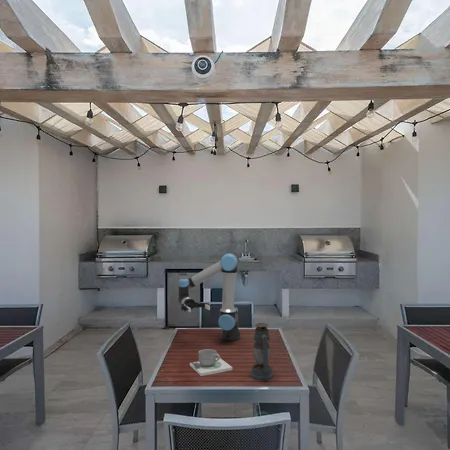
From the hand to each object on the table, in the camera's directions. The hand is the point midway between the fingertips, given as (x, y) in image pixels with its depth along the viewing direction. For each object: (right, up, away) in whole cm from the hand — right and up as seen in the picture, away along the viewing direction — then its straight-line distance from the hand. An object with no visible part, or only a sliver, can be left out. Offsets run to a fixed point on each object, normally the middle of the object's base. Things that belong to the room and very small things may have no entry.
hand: (199, 309), depth 252 cm
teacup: (+7, -28, -24) cm, 38 cm away
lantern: (+38, -30, -35) cm, 60 cm away
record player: (+8, -30, -23) cm, 39 cm away
